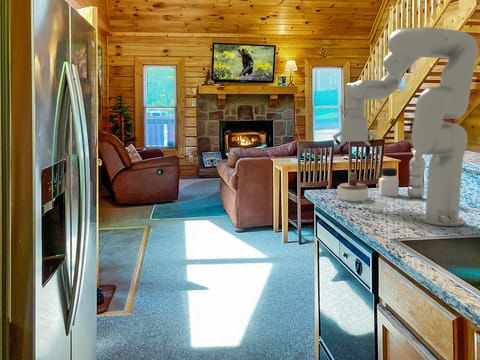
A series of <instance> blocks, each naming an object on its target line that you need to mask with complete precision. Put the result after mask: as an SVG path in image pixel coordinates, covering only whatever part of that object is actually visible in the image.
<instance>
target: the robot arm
mask: <svg viewBox="0 0 480 360" xmlns="http://www.w3.org/2000/svg"><path fill="white" fill-rule="evenodd" d="M387 49H388V50H389V53H388V54H387V55H386V56H385V57H384V59H383V63H382V64H383V67H384V69H385V70H386V72H387V74H386V75H385V76H384V77H382V79H381V80H380V79H361V80H357V81H354V82H348V83H347V84H346V85H345V110H343V111H341V115H344V117H343V118H342V119H343V120H342V125H341V126H342V127H341V131H340V132H337V133H336V134H334V135H333V136H332V138H333V140H334V141H335V143H336V144H337V145H338V146H339V155H341V157H344V144H345V143H346V142H347V143H348V142H349V143H350V142H353V143H355V142H356V143H357V142H361V143H362V142H363V143H364V144H365V148H364V149H365V151H364V153H365V156H366V157H368V155H369V154H370V150H371V149H370V147H371V146H372V144H373V143H374V142H375V141H376V139H377V137H378V135H377V134H376V133H373V132H371V131H370V130H369V125H368V117H367V116H365V114H366V113H365V111H366V109H365V107H366V105H365V103H366V101H369V100H370V101H371V100H372V101H374V100H375V101H376V100H377V101H379V100H384V99H386V98H388V97H389V96H390V95H392V94H393V93H394V92H395V91H396V90H397V89H398V88H399V86H400V85H401V83H402V80H403V74H404V73H405V72H407V70H408V69H410V68H411V66H413V65H414V64H415V63H416V62H417V61H419V60H420V58H431V59H432V58H433V59H434V58H435V59H447V60H448V61H447V62H446V64H445V65H444V68H443V69H442V71H441V75H440V81H439V86H431V87H429V88H426V89H425V90H423V91H422V92H421V94H420V95H419V96H418V98H417V101H416V102H415V103H416V104H415V108H414V117H413V122H412V123H413V125H412V132H411V144H412V147H413V149H414V150H416V151H417V152H418V153H420V154H423V155H426V156H429V155H430V156H431V155H432V156H431V158H430V161H429V164H428V170H427V183H426V185H427V186H426V202H425V203H426V204H425V205H426V206H425V214H421V215H420V218H419V219H420V221H421V222H423V223H425V224H429V225H435V226H441V227H457V226H462V225H463V224H464V223H465V220H464V219H463V218H462V217H460V216H459V214H460V201H461V186H462V175H463V162H464V157H465V152H466V149H467V145H468V133H467V131H466V130H465V128H464V127H463V126H461V125H460V124H457V123H453V122H443V120H450V119H451V120H452V119H457V118H460V117H463V116H464V115H465V114H466V113H467V110H468V107H469V102H470V95H471V90H472V83H473V76H474V72H475V71H474V70H475V66H476V63H477V59H478V56H479V55H478V54H479V53H478V52H479V47H478V43H477V41H476V39H475V37H473V36H472V35H471V34H469V33H467V32H464V31H461V30H456V29H452V28H451V29H448V28H441V27H430V26H429V27H399V28H397V29H396V30H394V31H393V32H392V33H391V35H390V36H389V37H388V40H387ZM340 136H341V141H339V139H338V137H340ZM369 136H371V137H372V138H371V139H370V140H368V139H369Z"/></svg>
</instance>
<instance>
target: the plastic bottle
mask: <svg viewBox="0 0 480 360" xmlns="http://www.w3.org/2000/svg"><path fill="white" fill-rule="evenodd" d="M423 155H424V154H420V153H418V152H417V151H416V150H415V149H414V150H413V151H412V156H413V157H411V159H410V160H409V163H408V164H409V166H408V167H409V181H408V188H407V191H406V192H407V196H408V197H409V198H412V199H422V198H423V197H424V195H425V188H424V178H425V177H424V176H425V171H426V166H427V162H426V161H425V158H423Z"/></svg>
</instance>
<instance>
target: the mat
mask: <svg viewBox="0 0 480 360" xmlns="http://www.w3.org/2000/svg"><path fill="white" fill-rule="evenodd" d="M360 202H361V203H360V204H361V206H362V207H367V208H391V205H390V204H389V203H388V202H387V201H368V200H364V201H360Z"/></svg>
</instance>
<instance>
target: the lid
mask: <svg viewBox="0 0 480 360" xmlns="http://www.w3.org/2000/svg"><path fill="white" fill-rule="evenodd" d="M348 178H349V179H348V180H349V181H348V182H343V183H340V184H339V185H338V186H339V187H340V188H342V189H350V190H361V189H366V188H368V185H367V184H365V183H358V180H357V178H358V173H357V172H349V177H348Z"/></svg>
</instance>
